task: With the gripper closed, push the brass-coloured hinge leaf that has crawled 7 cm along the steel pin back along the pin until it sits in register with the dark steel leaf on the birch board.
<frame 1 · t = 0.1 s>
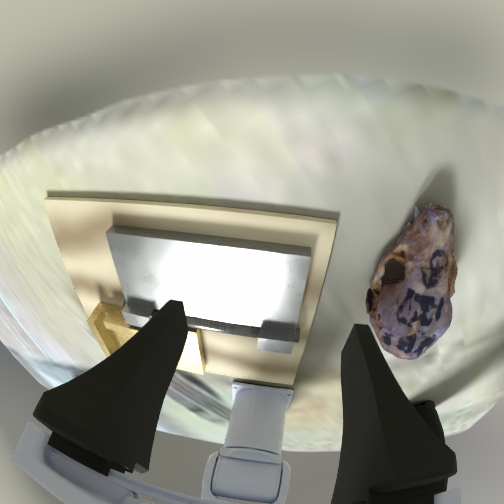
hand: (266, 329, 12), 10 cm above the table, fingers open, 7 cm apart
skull: (414, 261, 21), on the table
fixed leaf: (210, 310, 27), resting on board
board: (175, 304, 27), on the table
portable speaker: (412, 409, 35), on the table
loose leaf: (147, 346, 29), point 2 cm above the table, slide at 7.0 cm
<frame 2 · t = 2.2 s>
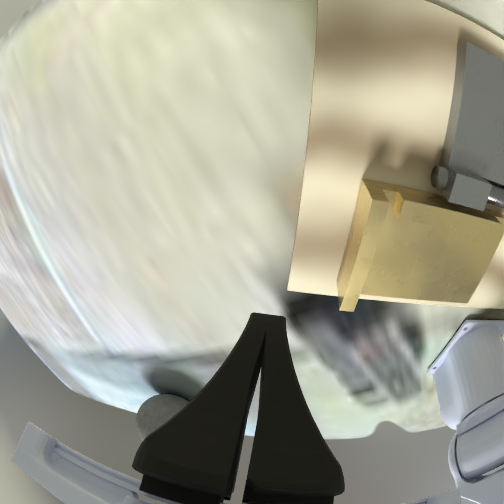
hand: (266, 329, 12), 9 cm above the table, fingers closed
decorative ball: (178, 397, 40), on the table
board: (481, 184, 15), on the table
loose leaf: (432, 258, 16), point 2 cm above the table, slide at 7.0 cm
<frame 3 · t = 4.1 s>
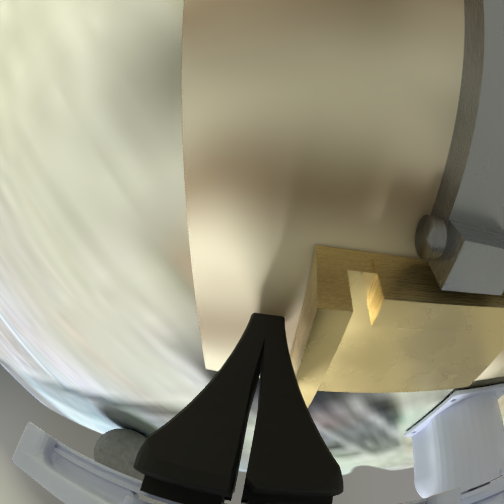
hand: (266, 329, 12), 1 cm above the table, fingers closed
decorative ball: (137, 431, 34), on the table
board: (500, 234, 9), on the table
loose leaf: (426, 355, 10), point 2 cm above the table, slide at 5.9 cm, touching gripper
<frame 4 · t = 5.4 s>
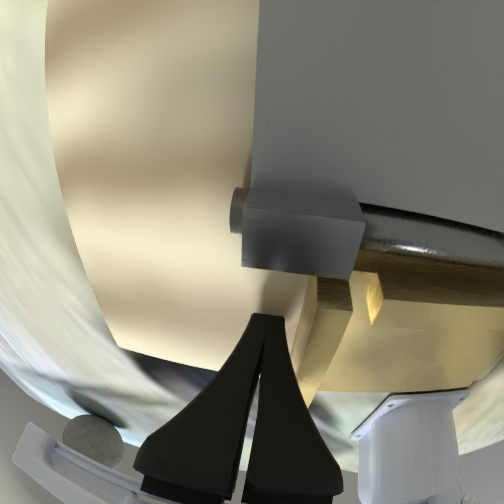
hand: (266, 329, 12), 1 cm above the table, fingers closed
decorative ball: (104, 418, 34), on the table
fixed leaf: (459, 224, 9), resting on board
board: (383, 209, 9), on the table
loose leaf: (426, 355, 10), point 2 cm above the table, slide at -0.2 cm, touching gripper
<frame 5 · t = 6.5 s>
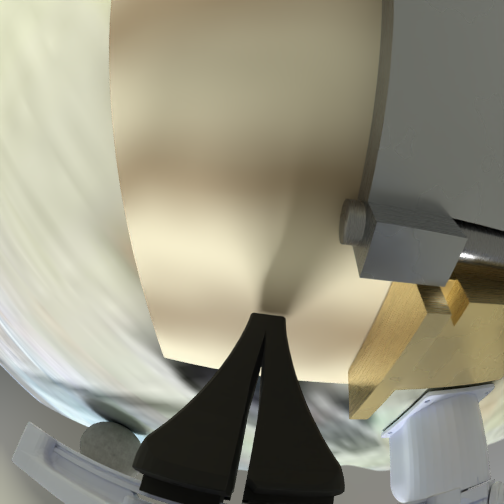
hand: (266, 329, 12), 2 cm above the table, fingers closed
decorative ball: (122, 424, 34), on the table
board: (454, 221, 9), on the table
loose leaf: (477, 350, 10), point 2 cm above the table, slide at -0.3 cm
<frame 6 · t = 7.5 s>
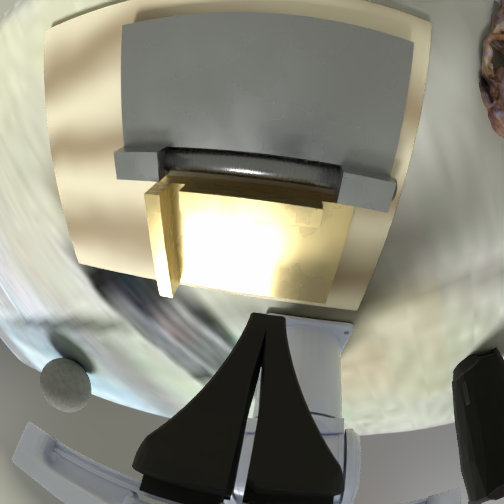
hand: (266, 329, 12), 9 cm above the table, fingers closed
decorative ball: (77, 363, 42), on the table
fixed leaf: (253, 158, 17), resting on board
board: (199, 153, 17), on the table
portable speaker: (475, 363, 26), on the table
loose leaf: (247, 249, 18), point 2 cm above the table, slide at -0.3 cm
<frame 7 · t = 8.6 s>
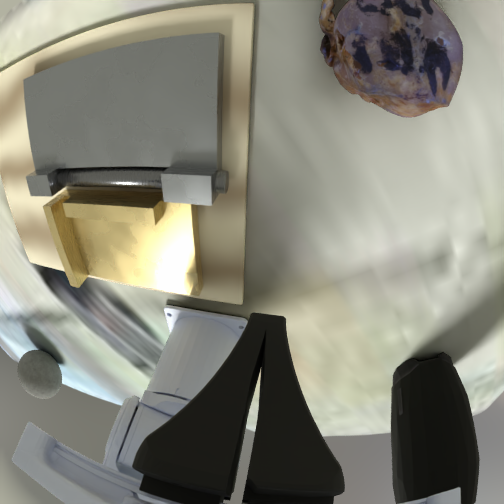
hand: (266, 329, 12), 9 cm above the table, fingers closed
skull: (383, 17, 11), on the table
decorative ball: (50, 355, 44), on the table
fixed leaf: (119, 169, 19), resting on board
board: (85, 170, 19), on the table
portable speaker: (421, 368, 27), on the table
loose leaf: (120, 246, 20), point 2 cm above the table, slide at -0.3 cm
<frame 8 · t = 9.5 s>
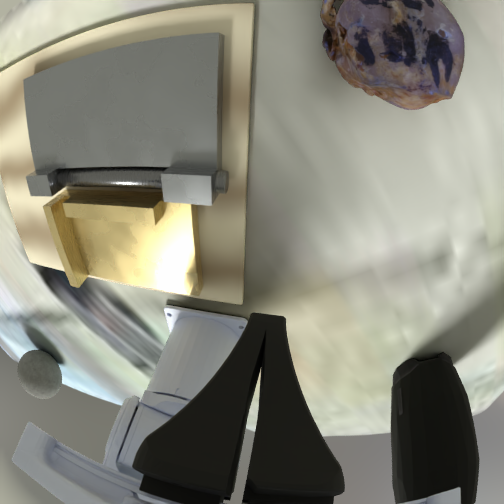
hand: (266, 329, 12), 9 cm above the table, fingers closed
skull: (384, 11, 10), on the table
decorative ball: (50, 355, 44), on the table
fixed leaf: (119, 169, 19), resting on board
board: (85, 170, 19), on the table
portable speaker: (421, 368, 27), on the table
loose leaf: (120, 246, 20), point 2 cm above the table, slide at -0.3 cm
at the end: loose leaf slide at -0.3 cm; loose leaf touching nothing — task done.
